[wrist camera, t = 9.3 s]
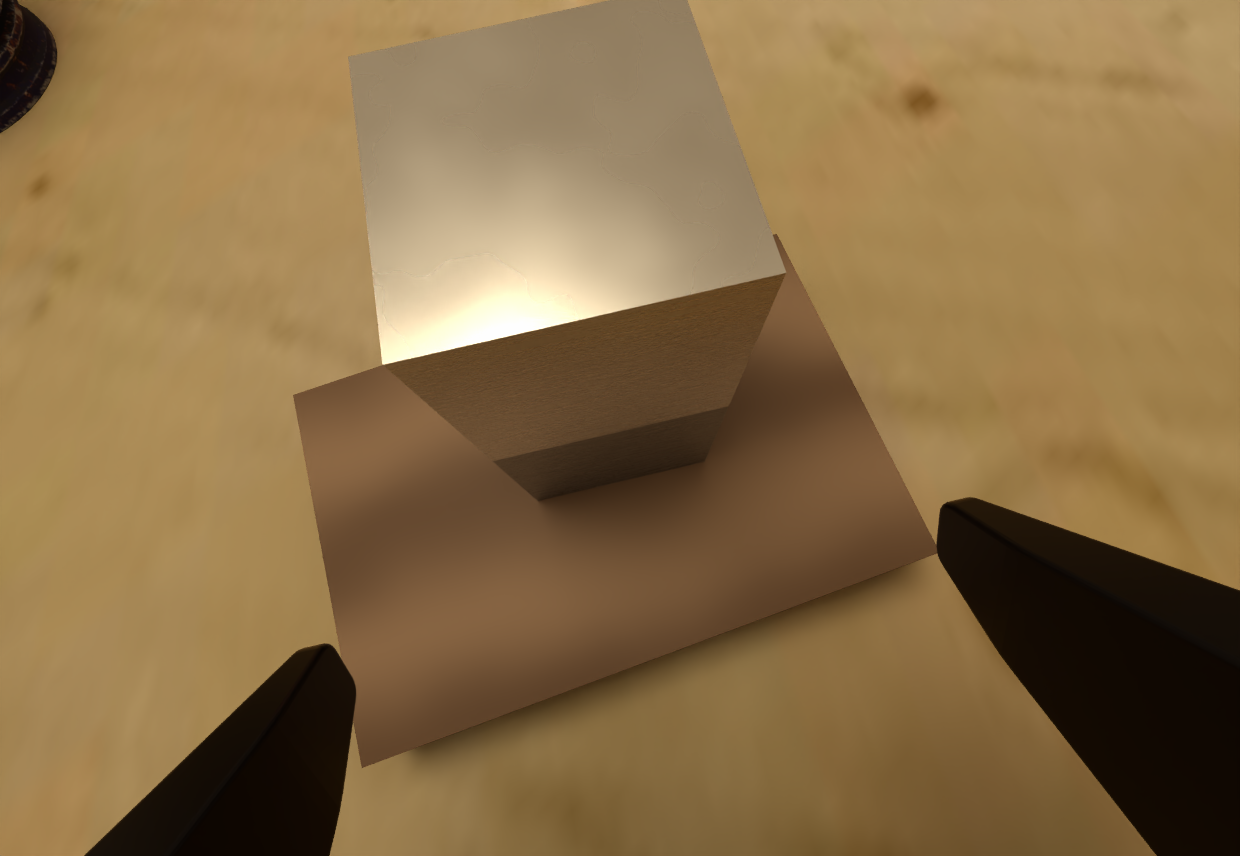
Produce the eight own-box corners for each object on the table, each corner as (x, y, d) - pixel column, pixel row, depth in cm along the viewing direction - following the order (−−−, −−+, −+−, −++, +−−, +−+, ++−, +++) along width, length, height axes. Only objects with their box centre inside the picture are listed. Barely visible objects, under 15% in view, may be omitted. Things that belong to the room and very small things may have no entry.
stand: (897, 558, 20) (939, 552, 17) (405, 741, 19) (362, 767, 16) (760, 278, 23) (776, 233, 20) (338, 421, 22) (293, 395, 19)
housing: (704, 461, 18) (786, 272, 8) (537, 500, 18) (382, 364, 7) (662, 312, 20) (681, -16, 9) (509, 348, 20) (347, 56, 9)
